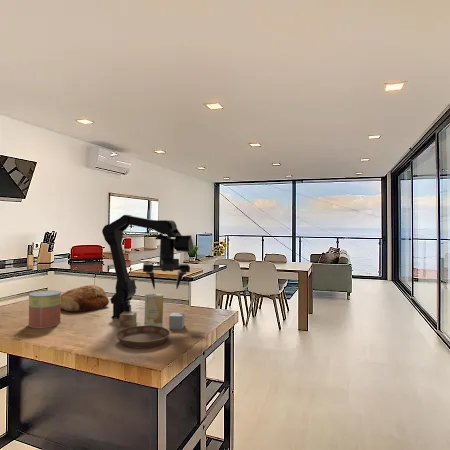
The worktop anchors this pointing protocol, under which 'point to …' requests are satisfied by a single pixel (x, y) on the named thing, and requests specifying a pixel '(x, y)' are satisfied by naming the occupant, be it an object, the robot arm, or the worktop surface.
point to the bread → (84, 299)
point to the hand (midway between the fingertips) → (165, 288)
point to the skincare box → (153, 310)
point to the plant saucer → (143, 336)
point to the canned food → (44, 309)
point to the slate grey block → (176, 320)
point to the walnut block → (127, 319)
